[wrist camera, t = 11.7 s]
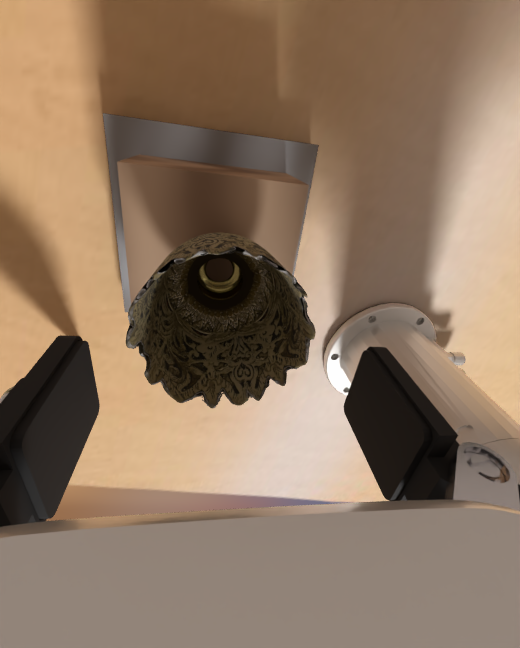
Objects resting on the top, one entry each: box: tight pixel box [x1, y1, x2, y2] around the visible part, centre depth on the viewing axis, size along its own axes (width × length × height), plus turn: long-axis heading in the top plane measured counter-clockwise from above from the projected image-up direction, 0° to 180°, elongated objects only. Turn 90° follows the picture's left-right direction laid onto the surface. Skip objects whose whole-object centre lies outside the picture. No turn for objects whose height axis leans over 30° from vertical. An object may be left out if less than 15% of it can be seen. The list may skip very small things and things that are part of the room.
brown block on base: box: [103, 113, 319, 312], centre depth 22 cm, size 14×14×8 cm
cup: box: [126, 232, 315, 408], centre depth 16 cm, size 8×7×8 cm
